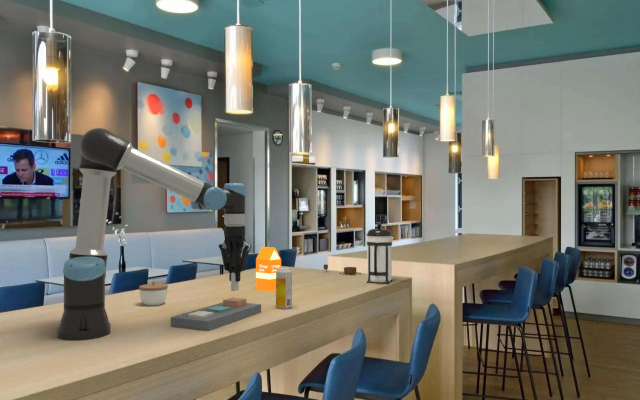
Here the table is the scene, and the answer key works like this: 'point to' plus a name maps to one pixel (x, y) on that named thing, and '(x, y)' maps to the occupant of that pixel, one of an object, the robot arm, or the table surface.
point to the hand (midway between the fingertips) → (234, 290)
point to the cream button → (200, 314)
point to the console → (215, 317)
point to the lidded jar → (153, 294)
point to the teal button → (218, 309)
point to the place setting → (345, 270)
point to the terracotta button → (234, 302)
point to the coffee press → (379, 255)
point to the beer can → (283, 288)
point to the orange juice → (267, 268)
